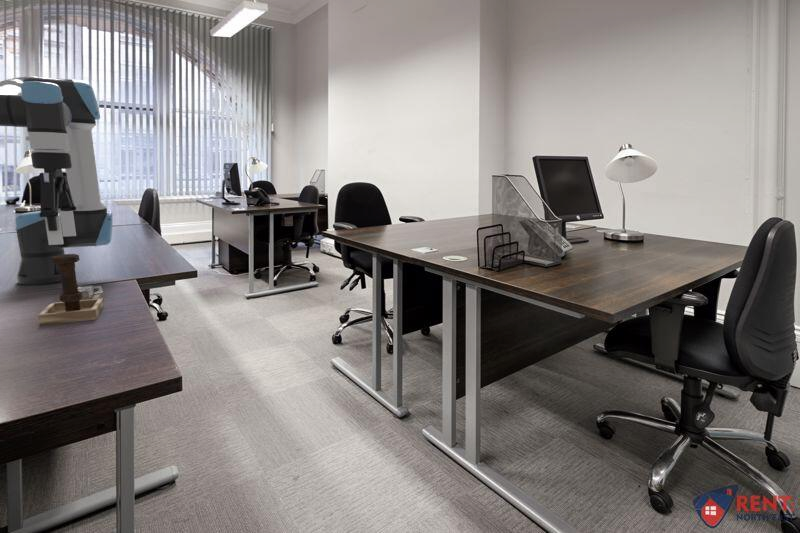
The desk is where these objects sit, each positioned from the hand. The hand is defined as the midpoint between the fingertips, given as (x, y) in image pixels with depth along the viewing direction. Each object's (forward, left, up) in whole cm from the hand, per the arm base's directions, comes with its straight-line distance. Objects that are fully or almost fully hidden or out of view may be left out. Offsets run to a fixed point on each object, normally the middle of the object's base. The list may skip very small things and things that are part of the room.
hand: (63, 240), depth 113 cm
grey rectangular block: (-13, 0, -19) cm, 24 cm away
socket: (-5, 0, -19) cm, 20 cm away
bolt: (0, 0, -19) cm, 19 cm away
